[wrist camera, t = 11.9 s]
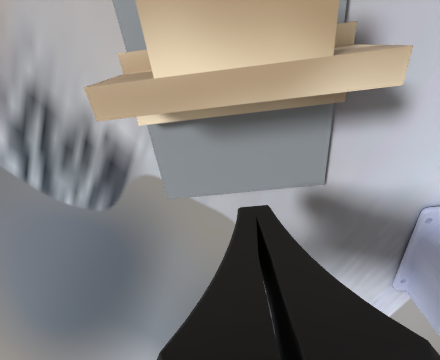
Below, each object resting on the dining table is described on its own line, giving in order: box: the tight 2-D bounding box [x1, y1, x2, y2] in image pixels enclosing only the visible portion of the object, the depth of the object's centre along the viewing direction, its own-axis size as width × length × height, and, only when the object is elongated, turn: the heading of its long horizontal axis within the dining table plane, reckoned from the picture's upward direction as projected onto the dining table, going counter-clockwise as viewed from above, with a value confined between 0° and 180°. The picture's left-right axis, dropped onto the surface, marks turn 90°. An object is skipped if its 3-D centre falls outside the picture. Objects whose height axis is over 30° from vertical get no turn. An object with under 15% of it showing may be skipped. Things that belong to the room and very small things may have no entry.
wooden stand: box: [84, 0, 413, 126], centre depth 10 cm, size 6×11×5 cm, turn 97°
